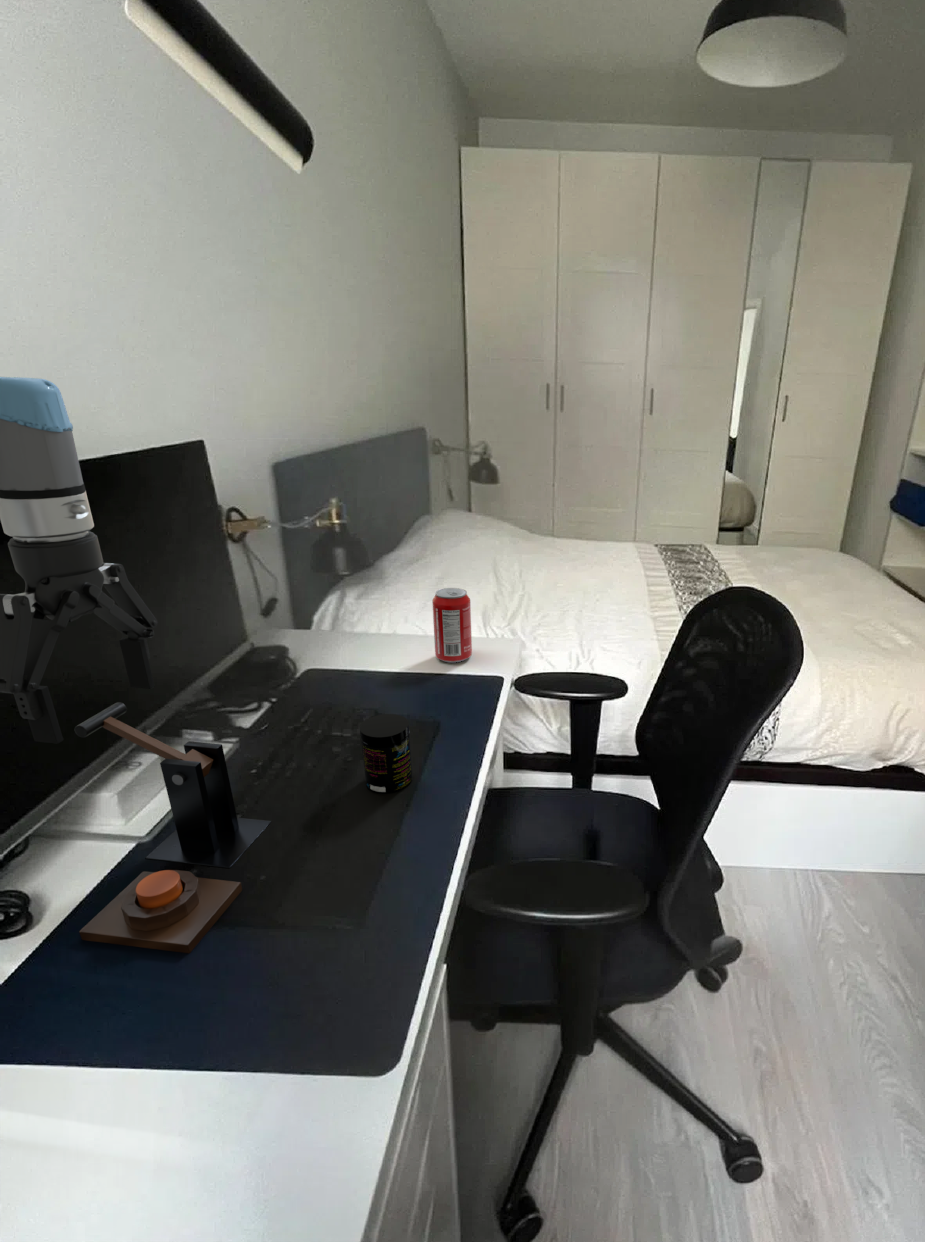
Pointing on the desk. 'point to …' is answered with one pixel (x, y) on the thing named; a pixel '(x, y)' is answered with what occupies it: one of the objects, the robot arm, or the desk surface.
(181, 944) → the button block
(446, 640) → the soda can
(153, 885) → the button
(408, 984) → the desk surface
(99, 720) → the lever
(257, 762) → the desk surface
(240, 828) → the bracket
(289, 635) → the desk surface
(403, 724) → the supplement container
